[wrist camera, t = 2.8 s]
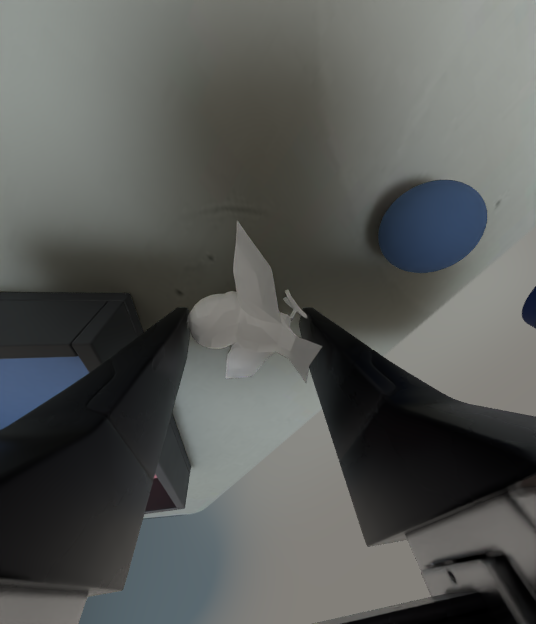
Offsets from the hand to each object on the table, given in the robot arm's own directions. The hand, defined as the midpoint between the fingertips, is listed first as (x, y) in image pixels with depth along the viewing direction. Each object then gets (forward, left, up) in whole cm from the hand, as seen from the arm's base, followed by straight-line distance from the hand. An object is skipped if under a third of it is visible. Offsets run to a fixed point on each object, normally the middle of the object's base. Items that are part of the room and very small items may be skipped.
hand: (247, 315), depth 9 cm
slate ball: (-6, -4, 0) cm, 7 cm away
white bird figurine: (0, 0, -1) cm, 1 cm away
